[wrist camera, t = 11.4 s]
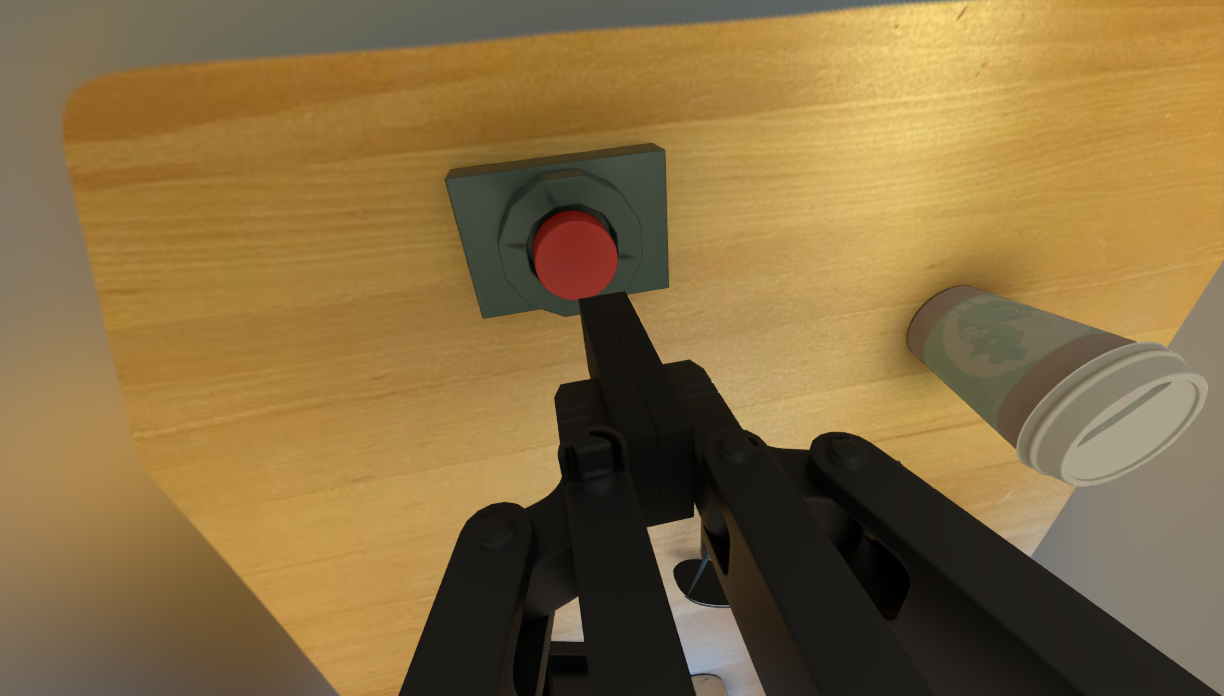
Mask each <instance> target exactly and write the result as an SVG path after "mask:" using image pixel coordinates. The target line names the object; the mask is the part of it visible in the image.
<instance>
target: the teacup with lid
mask: <svg viewBox="0 0 1224 696" xmlns="http://www.w3.org/2000/svg"><path fill="white" fill-rule="evenodd" d="M691 679H692V682H693V685H694V689H695V692H696V695H697V696H728V695H727V692H726V689H725V686H724V684H723V682H722V681H721V679H719V678H718V677H715V676H712V675H698V676H692V677H691Z"/></svg>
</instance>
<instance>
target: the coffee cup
mask: <svg viewBox="0 0 1224 696" xmlns="http://www.w3.org/2000/svg"><path fill="white" fill-rule="evenodd" d="M907 341H908V346H909V348H910V350H911V351H912V352H913V353H914V354H915V355H916V356H917V357H918V358H919V359H920V360H921V361H922V362H923V363H924V364H925V365H926V366H927V367H928V368H929V369H930V370H931V371H933V372H934V373H935V374H936V375H937V376H938V377H939V378H940V379H941V380H942V381H943V382H944V383H945V384H946V385H947V386H949V387H950V388H951V389H952V390H953V391H954V392H955V393H956V394H957V395H958V396H959V397H960V398H961V399H962V400H964V401H965V402H966V403H967V404H968V405H969V406H970V407H971V408H972V409H973V410H974V411H975V412H976V413H977V414H979V415H980V416H981V417H982V418H983V419H984V420H985V421H986V422H987V423H988V424H989V425H990V426H991V427H992V428H994V429H995V430H996V431H997V432H998V433H999V434H1000V435H1001V436H1002V437H1003V438H1004V439H1005V440H1007V441H1008V442H1009V443H1010V444H1011V445H1012V446H1013V447H1014V448H1015V449H1016V450H1017V455H1018V458H1019V459H1020V461H1021V462H1022V463H1023V464H1024V465H1026V466H1028V467H1031V468H1033V469H1034V470H1036V471H1037V472H1039V473H1041V474H1043V475H1047V476H1053V477H1055V478H1057V479H1059V480H1061V481H1063V482H1065V483H1068V484H1070V485H1073V486H1080V487H1085V486H1093V485H1098V484H1102V483H1105V482H1108V481H1111V480H1113V479H1116V478H1118V477H1121V476H1123V475H1125V474H1127V473H1129V472H1131V471H1133V470H1134V469H1136V468H1138V467H1140V466H1141V465H1143V464H1145V463H1146V462H1148V461H1149V460H1151V459H1152V458H1154V457H1155V456H1157V455H1158V454H1159V453H1161V452H1162V451H1163V450H1164V449H1166V448H1167V447H1168V446H1169V445H1170V444H1172V443H1173V442H1174V441H1175V440H1176V439H1177V438H1178V437H1179V436H1180V435H1181V434H1182V433H1183V432H1184V431H1185V430H1186V429H1187V428H1188V427H1189V426H1190V425H1191V423H1192V422H1193V421H1194V419H1195V418H1196V417H1197V415H1198V414H1199V412H1200V410H1201V409H1202V407H1203V405H1204V403H1205V401H1206V398H1207V393H1208V386H1207V382H1206V380H1205V379H1204V378H1203V377H1202V376H1201V375H1200V374H1198V373H1197V372H1196V371H1194V370H1193V369H1192V368H1190V367H1189V366H1188V365H1186V363H1185V361H1184V359H1183V358H1182V357H1181V356H1180V355H1179V354H1177V353H1175V352H1172V351H1170V350H1169V349H1168V348H1167V347H1166V346H1164V345H1163V344H1160V343H1156V342H1136V341H1133V340H1130V339H1127V338H1124V337H1121V336H1118V335H1115V334H1112V333H1109V332H1106V331H1103V330H1100V329H1097V328H1094V327H1091V326H1088V325H1085V324H1082V323H1079V322H1076V321H1073V320H1070V319H1067V318H1064V317H1061V316H1058V315H1055V314H1052V313H1049V312H1046V311H1043V310H1040V309H1037V308H1034V307H1031V306H1028V305H1025V304H1022V303H1019V302H1016V301H1013V300H1010V299H1007V298H1004V297H1001V296H998V295H995V294H992V293H989V292H986V291H983V290H980V289H977V288H974V287H970V286H958V287H954V288H951V289H948V290H945V291H943V292H942V293H940V294H938V295H936V296H935V297H934V298H932V299H931V300H930V301H928V302H927V303H926V304H925V305H924V306H923V307H922V308H921V309H920V311H919V312H918V313H917V315H916V316H915V318H914V319H913V321H912V323H911V325H910V328H909V331H908V337H907Z"/></svg>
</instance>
